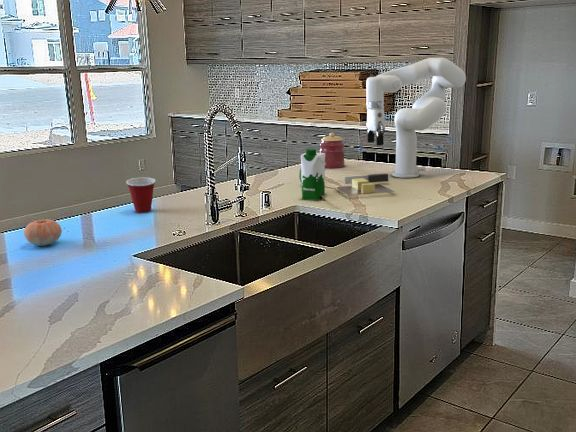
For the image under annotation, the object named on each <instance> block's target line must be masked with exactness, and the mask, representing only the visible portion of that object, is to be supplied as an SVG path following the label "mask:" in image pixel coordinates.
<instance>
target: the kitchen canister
mask: <svg viewBox="0 0 576 432" xmlns="http://www.w3.org/2000/svg"><path fill="white" fill-rule="evenodd" d="M320 140H321V142H320V143H319V147H320V149H319V153H325V169H340V168H343V167H345V151H346V150H345V148H344V146H345V142H344V141H343V140H344V139H343V137H341V136H339V135H335V133H334V132H333V131H332V132H329V135H327V136H323V137H322V138H321V139H320Z"/></svg>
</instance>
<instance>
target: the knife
mask: <svg viewBox="0 0 576 432" xmlns="http://www.w3.org/2000/svg"><path fill="white" fill-rule="evenodd" d="M360 178H363V179H365V180H368V181H369V183H381V182H383V183H384V182H389V174H388V173H373V174H367V175H351V176H344V185H350V184H352V179H360Z"/></svg>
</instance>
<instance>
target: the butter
mask: <svg viewBox="0 0 576 432" xmlns="http://www.w3.org/2000/svg"><path fill="white" fill-rule="evenodd" d="M362 184H369V181H368V180H365V179H363V178H360V179H352V183H351V186H352V187H353V188H354V189H356V190H362Z"/></svg>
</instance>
